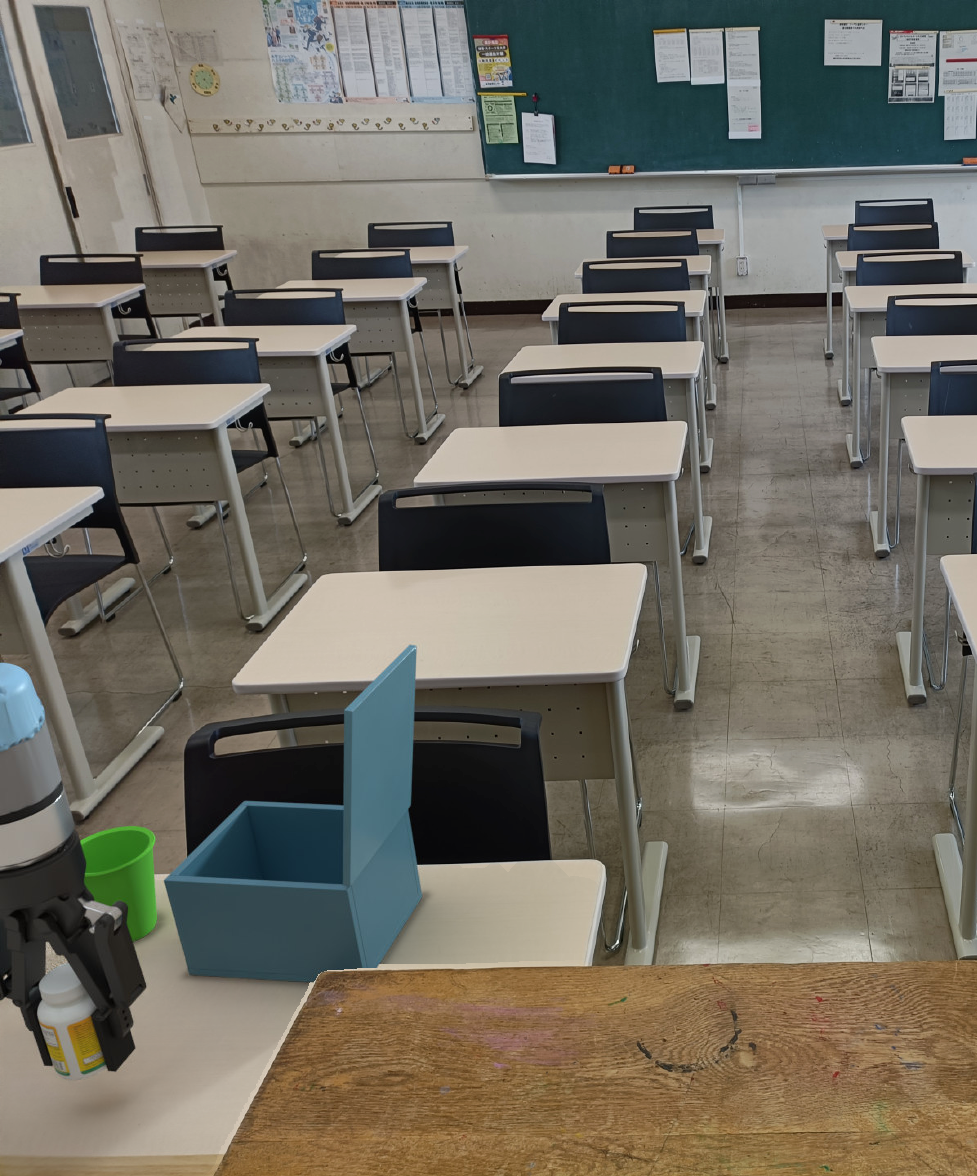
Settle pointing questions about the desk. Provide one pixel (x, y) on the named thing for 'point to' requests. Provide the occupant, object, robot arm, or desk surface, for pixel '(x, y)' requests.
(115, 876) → the cup
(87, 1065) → the supplement bottle
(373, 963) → the chest
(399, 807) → the lid
